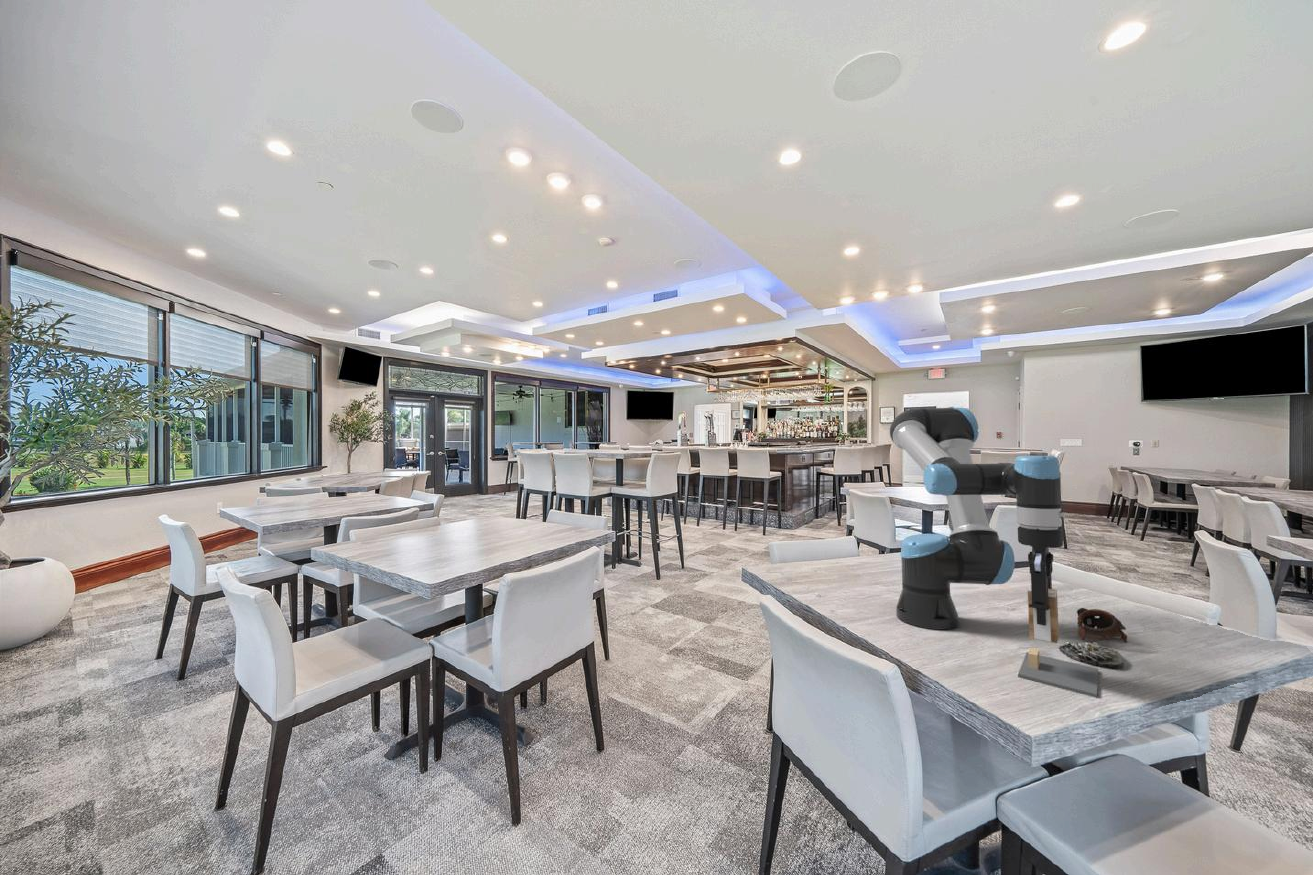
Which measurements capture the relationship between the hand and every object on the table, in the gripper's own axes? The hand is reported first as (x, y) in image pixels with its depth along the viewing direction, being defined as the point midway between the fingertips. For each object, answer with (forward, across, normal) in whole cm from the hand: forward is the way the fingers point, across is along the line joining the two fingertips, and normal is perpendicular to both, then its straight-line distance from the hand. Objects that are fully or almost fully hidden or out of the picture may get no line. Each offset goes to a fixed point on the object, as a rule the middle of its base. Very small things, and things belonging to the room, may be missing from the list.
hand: (1043, 635), depth 100 cm
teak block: (0, 0, 0) cm, 0 cm away
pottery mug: (+8, +30, -8) cm, 32 cm away
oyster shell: (+8, +16, -7) cm, 19 cm away
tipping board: (+8, 0, -2) cm, 8 cm away
